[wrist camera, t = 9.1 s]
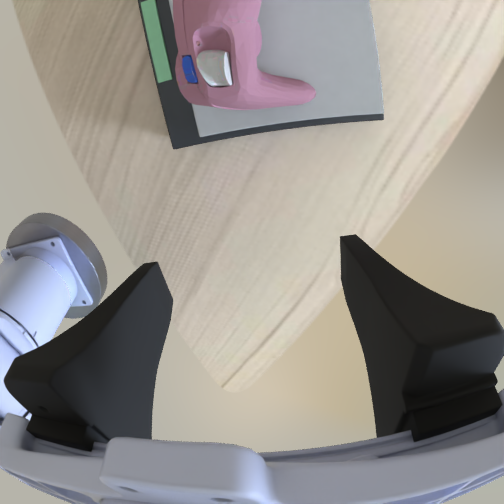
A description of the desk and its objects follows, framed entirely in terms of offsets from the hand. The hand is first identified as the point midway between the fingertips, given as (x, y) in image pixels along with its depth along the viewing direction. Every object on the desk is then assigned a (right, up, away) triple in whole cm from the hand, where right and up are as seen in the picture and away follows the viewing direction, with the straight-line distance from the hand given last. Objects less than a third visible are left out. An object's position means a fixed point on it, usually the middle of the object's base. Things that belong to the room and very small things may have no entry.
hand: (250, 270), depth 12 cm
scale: (0, +14, +2) cm, 14 cm away
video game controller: (0, +12, 0) cm, 12 cm away
